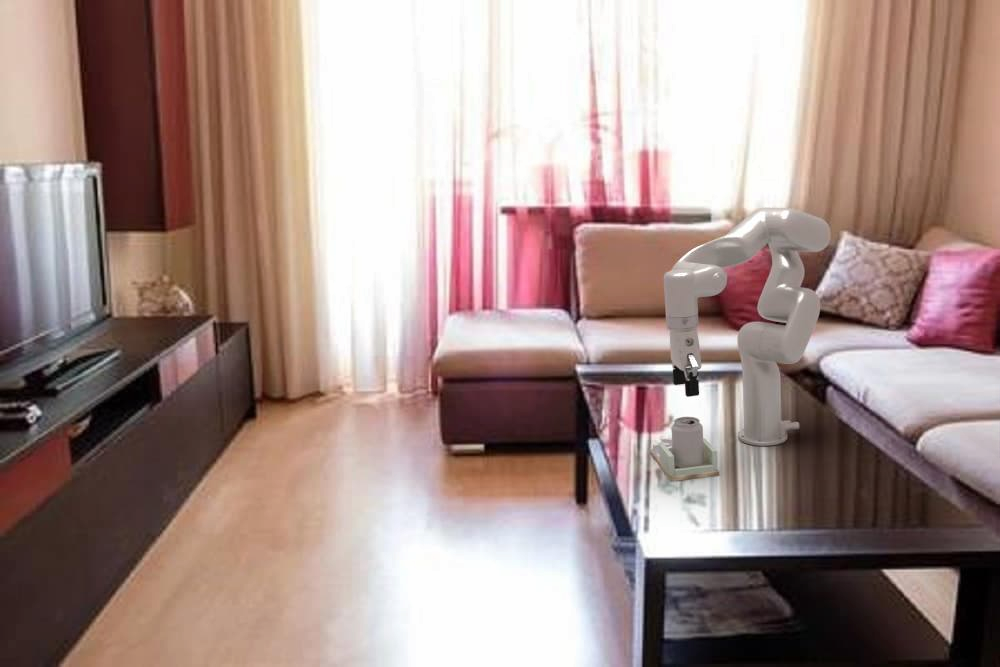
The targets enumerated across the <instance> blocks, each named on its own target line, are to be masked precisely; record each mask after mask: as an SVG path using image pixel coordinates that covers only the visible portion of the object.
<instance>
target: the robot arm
mask: <svg viewBox="0 0 1000 667" xmlns="http://www.w3.org/2000/svg"><path fill="white" fill-rule="evenodd" d="M831 232H832V231H831V228H830V225H829V224H828V222H826V221H825V219H823V218H820V217H819V216H816V215H815V216H814V215H813V214H810V213H808V212H804V211H801V210H800V209H795V208H789V207H761V208H756V209H755V210H753V211H752V212H751V213H750V214H748V215H747V216H746V217H744V219H742V220H741V222H739V223H738V224H737V225H736V226H734V227H733V228H732V229H731V230H730V231H728V233H726V234H725V235H723V236H720V237H717V238H715V239H713V240H710V241H707V242H706V243H703V244H701V245H698V246H696V247H695V248H693V249H691V250H689V251H688V252H687V253H686V254H684V255H683V256H682V257H681V258H680V259H679V260H678V261H676V263H674V265H673V266H672V268H671V270H669V271H666V272H665V273H664V275H663V290H664V291H663V292H664V306H665V307H664V308H665V309H664V310H665V324H666V329H667V330H668V331H669V346H670V347H669V349H670V350H669V351H670V359H671V362H672V364H671V365H672V366H671V367H672V378H673V380H672V381H673V385H674V386H678V385H684V390H685V391H684V392H685V397H687V398H690V397H697V396H699V395H700V384H699V383H700V382H699V381H700V380H699V370H700V369H702V356H701V348H700V341H699V340H700V339H699V334H698V328H699V325H700V324H699V308H698V307H699V306H698V299H699V298H703V297H712V296H713V297H714V296H717V295H719V294H720V293H722V292H723V291H724V289H725V288H726V286H727V283H728V275H727V272H726V271H725V270H724V269H723V268H729V267H734V266H738V265H741V264H745V263H747V262H749V261H750V260H751V259H753V257H755V255H757V254H758V253H759V252H760V251H761V250H762V249H763V248H764V247H765V246H767V244H768V247H769V251H770V254H771V255H770V256H771V262H772V264H771V269H770V271H769V275H768V277H767V278H766V282H765V284H764V287H763V289H762V292H761V294H760V297H759V299H758V301H757V302H758V303H757V308H756V309H757V312H758V314H759V316H760V317H762V319H765V320H769V321H773V322H778V323H785V325H783V324H776V323H772V322H771V323H770V322H764V321H751V322H750V321H749V322H747V323H745V324H743V326H741V327H740V329H739V331H738V333H737V338H736V339H737V340H736V342H737V348H738V352H739V356H740V360H741V362H740V363H741V370H742V371H741V372H742V373H741V374H742V405H743V407H742V408H743V429H741V430H740V431H738V434H737V438H738V439H739V441H740V442H742V443H745V444H747V445H751V446H758V447H759V446H763V447H764V446H765V447H766V446H767V447H769V446H776V445H780V444H782V443H785V442H786V441H787V440H788V432H789V430H799V429H800V422H798V421H793V422H792V421H791V420H788V419H787V420H782V408H781V407H782V404H781V396H782V395H781V394H782V393H781V372H780V368H779V366H778V363H781V364H787V365H793V364H795V363H797V362H799V361H800V360H801V358H802V357H803V355H804V354H805V352H806V349H807V347H808V344H809V342H810V339H811V337H812V335H813V332H814V330H815V328H816V325H817V322H818V319H819V316H820V312H821V300H820V297H819V295H818V294H817V292H815V290H813V289H811V288H807V287H801V285H802V283H803V281H804V278H805V266H804V264H803V261H802V259H801V257H800V254H799V252H808V253H809V252H811V253H818V252H821V251H823V250H825V249H826V248H827V246H829V244H830V241H831V237H832V233H831Z"/></svg>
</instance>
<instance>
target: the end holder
mask: <svg viewBox="0 0 1000 667" xmlns="http://www.w3.org/2000/svg"><path fill="white" fill-rule="evenodd" d="M703 449H704V461H705V462H706V464H707V465H704V466H696V467H688V468H680V469H675V468H674V456H673V454H672V453H671V452H670V451H669V449H668V448H667V447H666V446H665V445H664V443H663V444H659V456H660V464H661V465H662V466H663V467H664V469H665V470H666V471H667V473H668V474H669V475H670V476H684V475H692V474H700V473H708V472H714V471H715V470H718V471H719V468H718V450H717V448H715V447H714V445H712V444H711V443H710V442H709V441H708V440H707V439H706V438H703Z"/></svg>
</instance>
